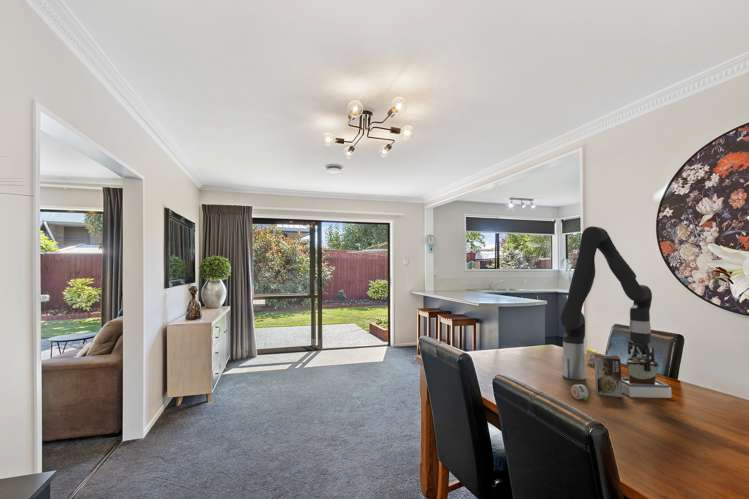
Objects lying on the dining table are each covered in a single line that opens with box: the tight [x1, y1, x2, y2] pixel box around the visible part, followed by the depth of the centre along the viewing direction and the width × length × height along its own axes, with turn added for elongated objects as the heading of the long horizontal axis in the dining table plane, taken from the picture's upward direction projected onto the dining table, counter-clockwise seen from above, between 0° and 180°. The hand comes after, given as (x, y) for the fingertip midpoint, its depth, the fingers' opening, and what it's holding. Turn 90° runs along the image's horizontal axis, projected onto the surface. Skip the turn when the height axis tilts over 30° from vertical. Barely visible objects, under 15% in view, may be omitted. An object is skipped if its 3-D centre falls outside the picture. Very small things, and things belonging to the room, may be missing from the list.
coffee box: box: [594, 353, 623, 398], centre depth 158 cm, size 9×6×16 cm
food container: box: [625, 356, 660, 384], centre depth 160 cm, size 12×6×10 cm, turn 75°
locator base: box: [621, 377, 672, 399], centre depth 158 cm, size 16×11×5 cm, turn 85°
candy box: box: [586, 348, 607, 367], centre depth 198 cm, size 16×2×8 cm, turn 6°
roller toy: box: [570, 383, 589, 401], centre depth 152 cm, size 4×6×6 cm
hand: (640, 368), depth 159 cm, fingers open, 8 cm apart
